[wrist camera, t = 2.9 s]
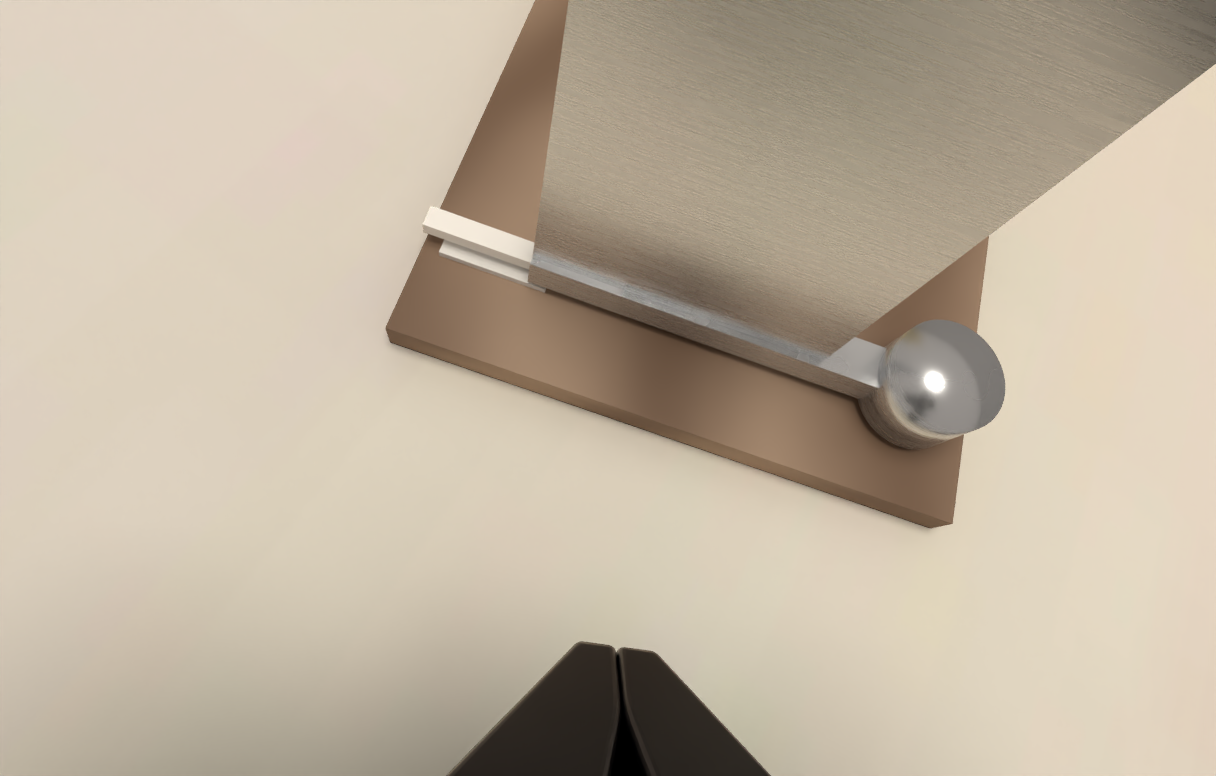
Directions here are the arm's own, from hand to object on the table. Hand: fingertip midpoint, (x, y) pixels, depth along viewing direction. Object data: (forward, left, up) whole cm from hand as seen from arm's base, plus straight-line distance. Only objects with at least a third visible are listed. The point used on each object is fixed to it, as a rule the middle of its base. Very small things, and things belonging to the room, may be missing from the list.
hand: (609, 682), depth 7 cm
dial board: (+10, -9, -11) cm, 17 cm away
